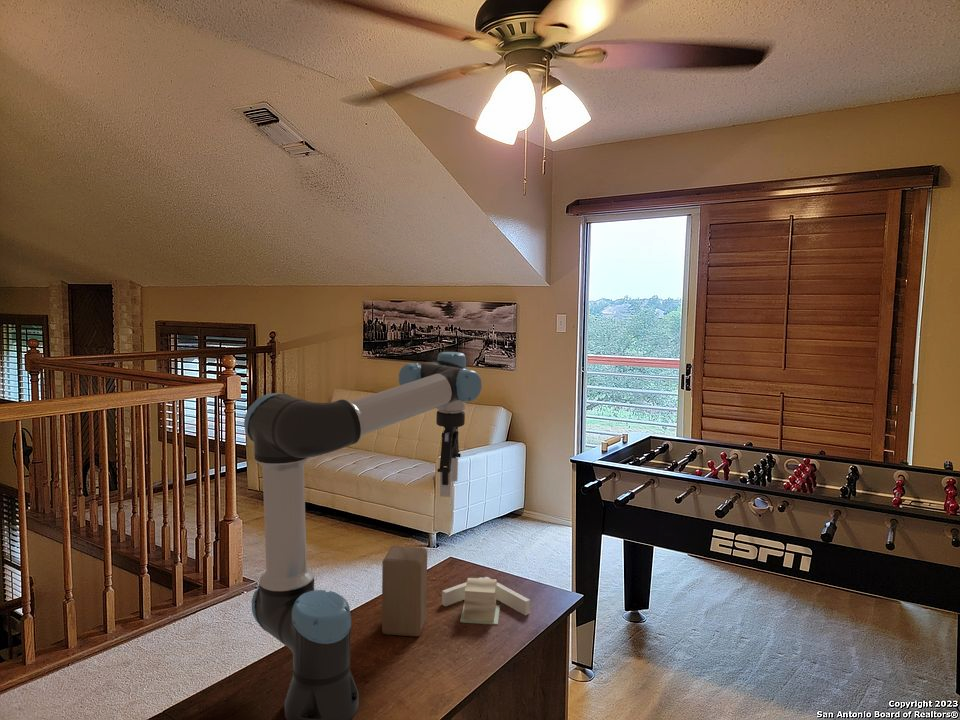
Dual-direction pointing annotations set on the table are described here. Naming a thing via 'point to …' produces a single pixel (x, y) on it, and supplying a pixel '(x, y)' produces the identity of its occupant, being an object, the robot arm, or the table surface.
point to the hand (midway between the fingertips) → (448, 488)
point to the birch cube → (480, 599)
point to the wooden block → (404, 591)
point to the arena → (502, 595)
